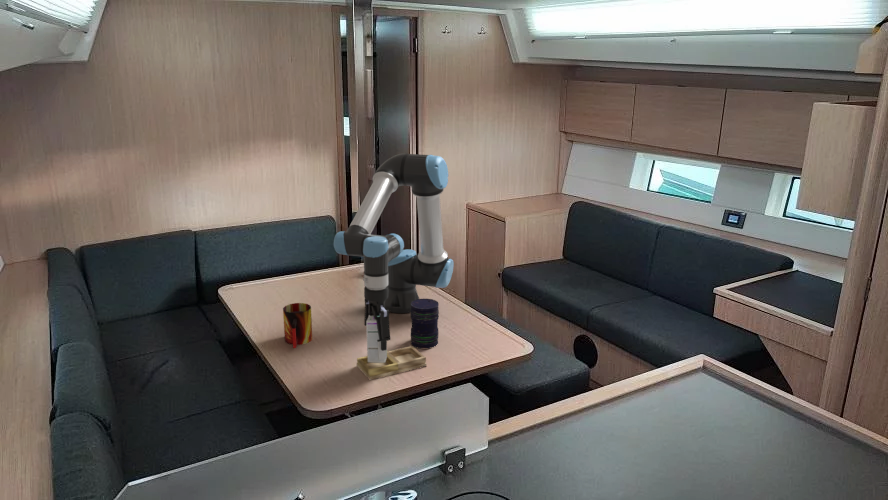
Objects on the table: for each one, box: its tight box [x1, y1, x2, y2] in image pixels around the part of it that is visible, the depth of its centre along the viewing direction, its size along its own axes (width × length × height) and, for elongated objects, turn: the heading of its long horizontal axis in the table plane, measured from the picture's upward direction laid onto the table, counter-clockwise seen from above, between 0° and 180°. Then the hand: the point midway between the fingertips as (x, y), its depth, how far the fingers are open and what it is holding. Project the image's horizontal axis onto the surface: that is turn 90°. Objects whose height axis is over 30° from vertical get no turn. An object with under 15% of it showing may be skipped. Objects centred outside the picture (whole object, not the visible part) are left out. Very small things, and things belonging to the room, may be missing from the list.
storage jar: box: [410, 298, 440, 349], centre depth 227 cm, size 10×10×15 cm
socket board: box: [356, 345, 427, 381], centre depth 211 cm, size 20×11×3 cm, turn 120°
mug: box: [282, 302, 313, 349], centre depth 227 cm, size 10×14×12 cm
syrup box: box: [365, 315, 386, 363], centre depth 206 cm, size 6×6×14 cm
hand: (377, 353), depth 207 cm, fingers closed on syrup box, 7 cm apart
